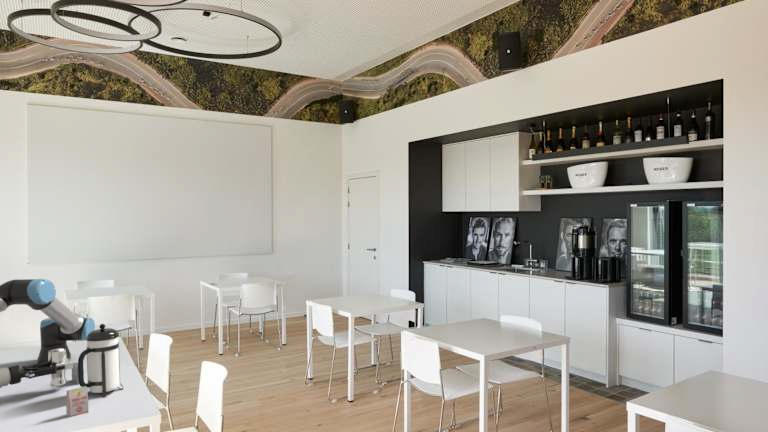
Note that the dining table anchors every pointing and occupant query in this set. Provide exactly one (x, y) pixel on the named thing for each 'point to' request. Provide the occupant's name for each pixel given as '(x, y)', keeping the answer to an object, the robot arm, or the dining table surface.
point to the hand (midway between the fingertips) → (70, 363)
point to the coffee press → (101, 361)
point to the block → (75, 373)
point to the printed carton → (77, 401)
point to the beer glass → (55, 359)
